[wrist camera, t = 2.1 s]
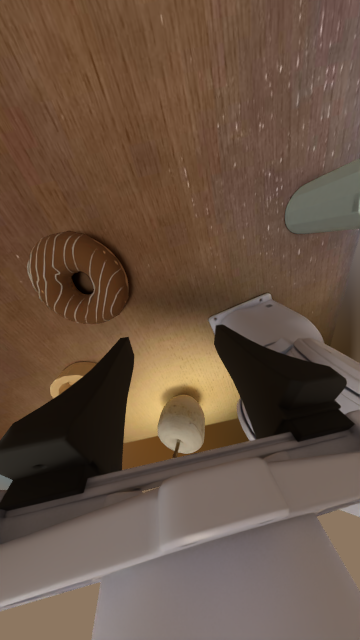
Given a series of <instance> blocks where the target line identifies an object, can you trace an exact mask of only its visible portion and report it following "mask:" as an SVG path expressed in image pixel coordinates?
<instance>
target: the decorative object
mask: <svg viewBox="0 0 360 640" xmlns="http://www.w3.org/2000/svg"><path fill="white" fill-rule="evenodd" d="M204 428H205V418H204V413H203V411H202V408H201V406H200V405H199V403H198V402H197V401H196V400H195V399H194V398H193V397H191V396H188V395H178V396H175V397H173V398H172V399H171V400H170V401H169V402H168V403H167V404H166V405H165V406H164V408H163V410H162V412H161V415H160V419H159V423H158V436H159V438H160V439H161V441H162V442H163V443H164V444H165V445H166V446H167V447H168V448H170V449H172V450H174V454H173V458H172V459H174V458H177V454H178V452H180V453H192V452H194V451H196V450H198V449H199V448H200V447H201V446H202V444H203V441H204V433H205V432H204V431H205V429H204Z"/></svg>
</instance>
